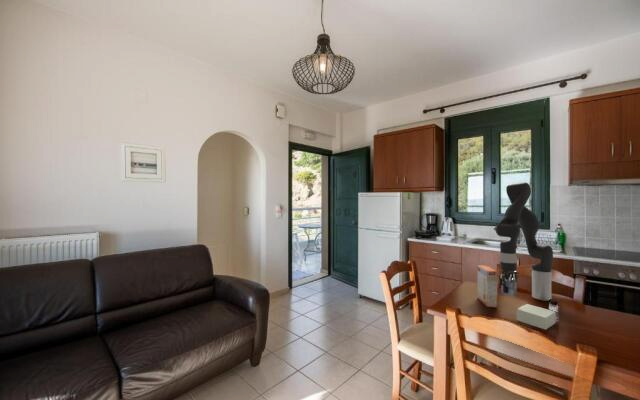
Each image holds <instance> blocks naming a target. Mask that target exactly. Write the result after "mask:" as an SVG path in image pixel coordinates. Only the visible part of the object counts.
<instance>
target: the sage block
mask: <svg viewBox="0 0 640 400" xmlns="http://www.w3.org/2000/svg"><path fill="white" fill-rule="evenodd" d="M516 321H519V322H521V323H524V324H527V325H530V326H533V327H536V328H540V329H542V330H547V329H549V328H550V327H553V325H555V324H556V311H554V310H551V309H547V308H543V307H540V306H536V305H532V304H528V303H525V304H523V305H522V306H520V307H518V308H516Z"/></svg>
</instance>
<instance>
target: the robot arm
mask: <svg viewBox="0 0 640 400" xmlns="http://www.w3.org/2000/svg"><path fill="white" fill-rule="evenodd" d="M505 189H506V191H505V192H506V194H507V198H508V199H509V201H510V203H511V204H510V205H509V206H507V208H506V210H505V212H504V214H503V215H504V216H503V217H502V219H501V220H500V221H499V223H498V224H497V225H496V227H495V233H496V235H497V236H498V237H501V238H502V237H504V238H510V240H503V241H501V242H500V244H499V246H500V249H499V250H500V252H499V269H500V270H502V273H501V274H498V280H499V285H500V286H501V285H503V292H504V293H508V283H509V282H510V280H512V281H516V284H517V283H518V279H519V278H518V277H519V272H518V259H517V258H518V257H517V242H518V238H519V236H520V233H521V230H522V234H523V236H524V240H525V244H526V248H527V252H528V255H529V256H530V257H531V258H533V259H537V260H540V262H539V263H533V264H532V265H531V297H532V298H534V299H536V300H540V301H546V302H547V301H549V300H550V299H551V300H552V268H553V263H554V262H553V259H554V258H553V257H554V250H553V247H552V246H550V245H548V244H547V245H546V244H541V243H538V242H537V239H536V238H537V237H536V235H537V233H538V231H539V229H540V222H539V220H538V217H537V215H536V214H535V213H534V212H533V211H532V210H530V209H529V208H528V207H526V204H527V202H528V200H529V198H530V197H531V194H532V188H531V186H530V184H529V183H528V182H519V183H517V182H516V183H511V184H508V185H507V186H506V187H505ZM518 223H519V225H518ZM519 226H520V227H519ZM505 279H506V280H505ZM551 300H550V301H551Z"/></svg>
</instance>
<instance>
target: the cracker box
mask: <svg viewBox="0 0 640 400" xmlns="http://www.w3.org/2000/svg"><path fill="white" fill-rule="evenodd" d="M477 299H478V300H479V301H480V302H481V303H483V305H484V306H485V307H487V308H498V271H497V270H495V269H493V268H492V267H490V266H488V265H483V264H482V265H481V264H480V265H479V264H478V265H477Z"/></svg>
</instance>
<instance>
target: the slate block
mask: <svg viewBox="0 0 640 400" xmlns="http://www.w3.org/2000/svg"><path fill="white" fill-rule="evenodd" d="M505 280H506V279H505ZM500 289H501V290H500V292H501V294H503V295H506V296H509V297H513V296H516V295H517V292H518V291H517V283H516V281H512V280H510V282H509V283H508V293H504V292H503V285H500Z"/></svg>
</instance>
